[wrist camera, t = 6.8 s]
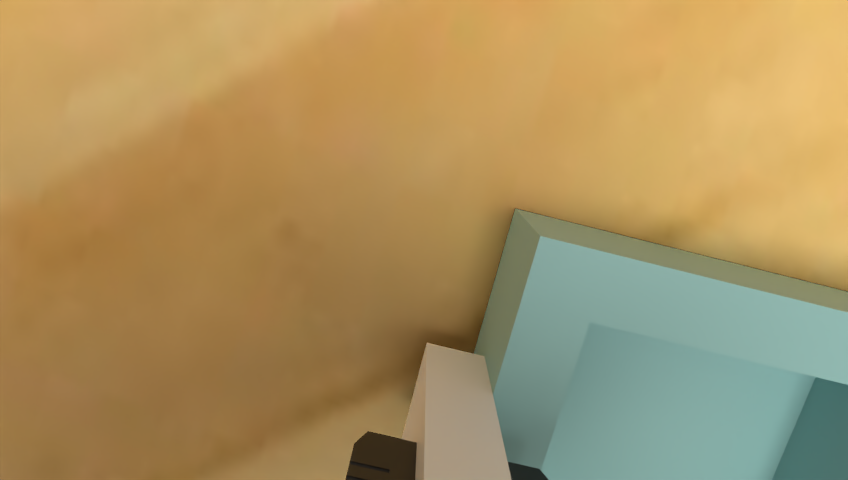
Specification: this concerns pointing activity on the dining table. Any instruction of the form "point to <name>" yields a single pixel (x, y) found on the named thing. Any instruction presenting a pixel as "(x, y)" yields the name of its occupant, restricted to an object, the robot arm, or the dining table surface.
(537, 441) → the socket block
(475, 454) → the robot arm
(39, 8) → the dining table surface
